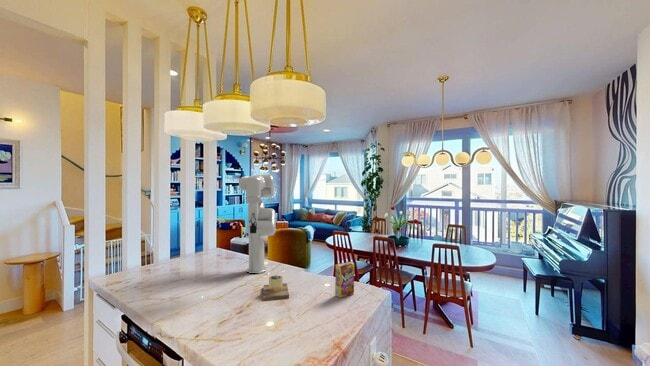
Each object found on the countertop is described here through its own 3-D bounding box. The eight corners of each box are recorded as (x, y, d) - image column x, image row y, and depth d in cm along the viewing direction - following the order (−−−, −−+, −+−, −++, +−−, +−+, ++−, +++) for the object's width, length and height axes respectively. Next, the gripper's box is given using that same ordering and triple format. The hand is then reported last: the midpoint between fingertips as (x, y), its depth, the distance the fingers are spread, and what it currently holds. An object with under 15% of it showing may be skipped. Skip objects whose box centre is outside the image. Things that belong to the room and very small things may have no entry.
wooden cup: (268, 287, 132) (269, 275, 132) (282, 286, 134) (282, 275, 134) (268, 292, 126) (269, 280, 126) (282, 291, 127) (282, 279, 127)
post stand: (263, 287, 136) (263, 272, 136) (286, 286, 139) (286, 270, 139) (263, 300, 120) (263, 283, 121) (289, 298, 123) (289, 281, 123)
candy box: (340, 298, 123) (340, 266, 123) (334, 295, 126) (334, 263, 127) (354, 294, 127) (354, 263, 128) (349, 291, 131) (349, 261, 131)
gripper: (247, 199, 148) (247, 228, 148) (245, 201, 131) (245, 234, 131) (260, 198, 150) (260, 228, 150) (260, 201, 133) (260, 234, 133)
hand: (253, 231), depth 141 cm, fingers open, 9 cm apart
